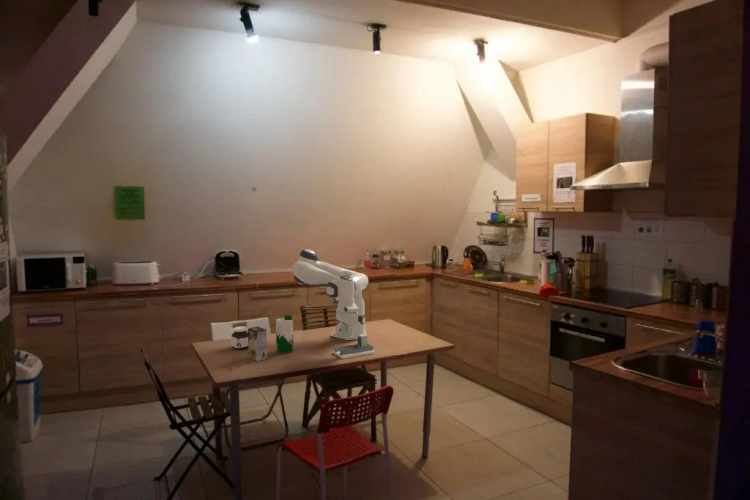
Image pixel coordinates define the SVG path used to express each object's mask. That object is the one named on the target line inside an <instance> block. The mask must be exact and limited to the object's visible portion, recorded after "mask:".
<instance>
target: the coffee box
mask: <svg viewBox="0 0 750 500" xmlns="http://www.w3.org/2000/svg"><path fill="white" fill-rule="evenodd" d="M247 331H248V347H247V351H248V353H247V354H248V355H247V357H248V358H249V359H251V360H254V361H255V362H259V361H264V360H267V352H268V351H267V329H266V328H262V327H260V326H253V327H248V328H247Z"/></svg>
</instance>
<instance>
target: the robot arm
mask: <svg viewBox="0 0 750 500" xmlns="http://www.w3.org/2000/svg"><path fill="white" fill-rule="evenodd" d="M319 260H320V258H319V257H318V255H317V253H316V252H315V251H314V250H312V249H309V248H308V249H305V248H304V249H302V250H301V251H300V253H299V256H298V259H297V261H296V262H295V263H294V264H293V265H292V268H291V269H292V274H293V280H294V282H295V283H297V284H299V285H326V286H325V294H326V295H327V297H328V298H330V299H337V300H338V304H337V307H336V311H335V319H336V321H339V322H338V324H336V326H335V329H334V331H333V332H331V334H330V336H331V337H334V338H338V339H342V340H344V339H343V338H342V323H345V324H347V325H348V329H347V332H348V333H349V332H351V339H347V340H346V341H351V340H352V341H353V340H358V335H359V334H365V335H367V332H366V313H365V300H364V298H363V297H364V296H363V294H362V293H363V290H365V289H366V288H367V286H368V285H369V277H368V276H367V275H366V273H361V272H357V271H353V270H350V269H347V268H342V267H339V266H336V265H335V264H334V265H333V264H331V263H329V262H326V261H319ZM351 328H352V330H351ZM367 336H368V335H367Z"/></svg>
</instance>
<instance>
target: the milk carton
mask: <svg viewBox="0 0 750 500" xmlns="http://www.w3.org/2000/svg"><path fill="white" fill-rule="evenodd" d="M292 316H293V315H292V314H285V315H284V316H283V318H282V317H281V318H275V338H276V339H275V341H276V343H275V344H276V350H277V351H278V353H279V354H287V353H293V350H294V320H293V317H292Z"/></svg>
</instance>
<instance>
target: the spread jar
mask: <svg viewBox="0 0 750 500" xmlns="http://www.w3.org/2000/svg"><path fill="white" fill-rule="evenodd" d="M233 330H234V331H233V332H232V334H231V337H230V341H231V342H230V343H231V347H232V348H233V349H235V350H246V349H248V328H247V327H246V326H235V327H234V328H233Z"/></svg>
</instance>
